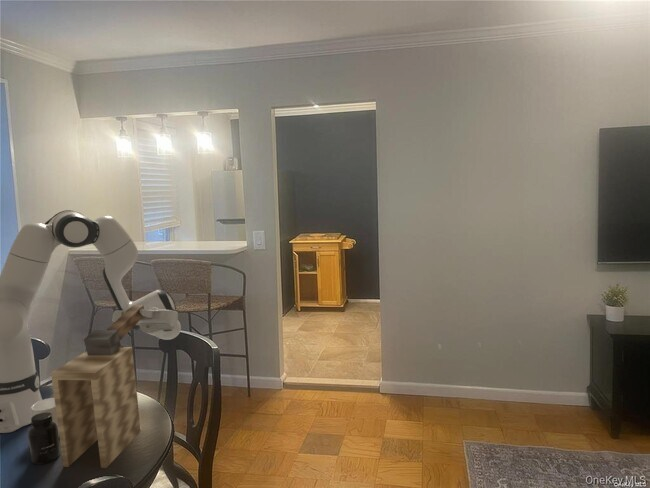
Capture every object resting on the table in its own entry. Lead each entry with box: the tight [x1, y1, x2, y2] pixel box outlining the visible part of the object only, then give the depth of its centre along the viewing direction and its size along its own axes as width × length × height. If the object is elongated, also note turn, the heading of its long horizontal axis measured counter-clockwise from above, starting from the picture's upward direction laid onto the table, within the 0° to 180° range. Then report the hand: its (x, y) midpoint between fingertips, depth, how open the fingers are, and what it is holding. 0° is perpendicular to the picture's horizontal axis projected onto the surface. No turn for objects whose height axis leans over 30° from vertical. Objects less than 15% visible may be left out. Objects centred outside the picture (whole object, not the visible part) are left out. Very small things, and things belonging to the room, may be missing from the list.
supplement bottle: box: [27, 412, 61, 465], centre depth 127 cm, size 7×7×12 cm
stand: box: [50, 346, 142, 469], centre depth 129 cm, size 18×12×26 cm, turn 174°
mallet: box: [83, 305, 144, 355], centre depth 141 cm, size 24×7×5 cm, turn 174°
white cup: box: [31, 397, 59, 436], centre depth 138 cm, size 8×8×10 cm
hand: (133, 311), depth 149 cm, fingers closed on mallet, 3 cm apart
